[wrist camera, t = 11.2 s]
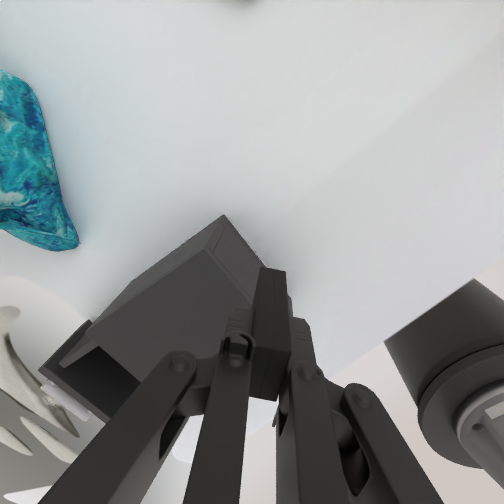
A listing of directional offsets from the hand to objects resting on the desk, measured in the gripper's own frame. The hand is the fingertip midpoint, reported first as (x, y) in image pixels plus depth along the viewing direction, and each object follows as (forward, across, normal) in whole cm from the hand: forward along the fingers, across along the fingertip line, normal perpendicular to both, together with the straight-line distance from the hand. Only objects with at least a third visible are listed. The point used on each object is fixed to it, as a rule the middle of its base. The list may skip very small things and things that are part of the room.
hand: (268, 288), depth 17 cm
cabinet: (+14, -5, -10) cm, 18 cm away
